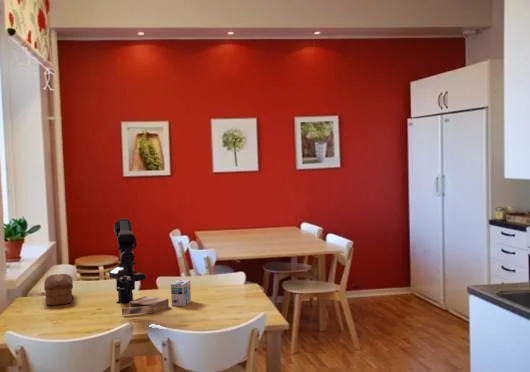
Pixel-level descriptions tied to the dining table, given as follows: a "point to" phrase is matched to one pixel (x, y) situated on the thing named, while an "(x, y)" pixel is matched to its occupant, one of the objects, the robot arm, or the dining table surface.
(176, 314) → the dining table surface
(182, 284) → the light bulb box
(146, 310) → the flap
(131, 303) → the brown piece
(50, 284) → the bread
